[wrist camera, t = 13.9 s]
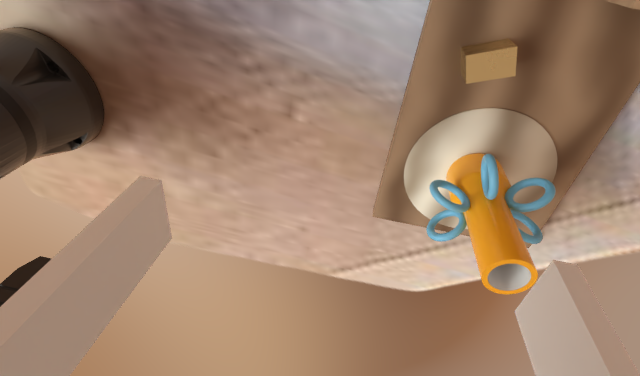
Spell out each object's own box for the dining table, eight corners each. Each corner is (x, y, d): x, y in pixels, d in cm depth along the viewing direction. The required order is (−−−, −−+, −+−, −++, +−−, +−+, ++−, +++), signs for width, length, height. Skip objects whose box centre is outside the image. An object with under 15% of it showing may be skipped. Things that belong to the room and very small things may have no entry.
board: (373, 209, 47) (370, 249, 41) (443, -50, 30) (456, -47, 24) (525, 240, 46) (545, 285, 40) (688, -13, 29) (768, -1, 23)
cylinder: (554, 159, 37) (633, 265, 25) (492, 225, 43) (530, 336, 31) (451, 113, 36) (481, 200, 24) (402, 187, 42) (406, 286, 30)
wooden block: (461, 73, 34) (466, 83, 32) (460, 47, 33) (466, 55, 30) (506, 66, 33) (515, 76, 31) (507, 38, 32) (517, 46, 29)
